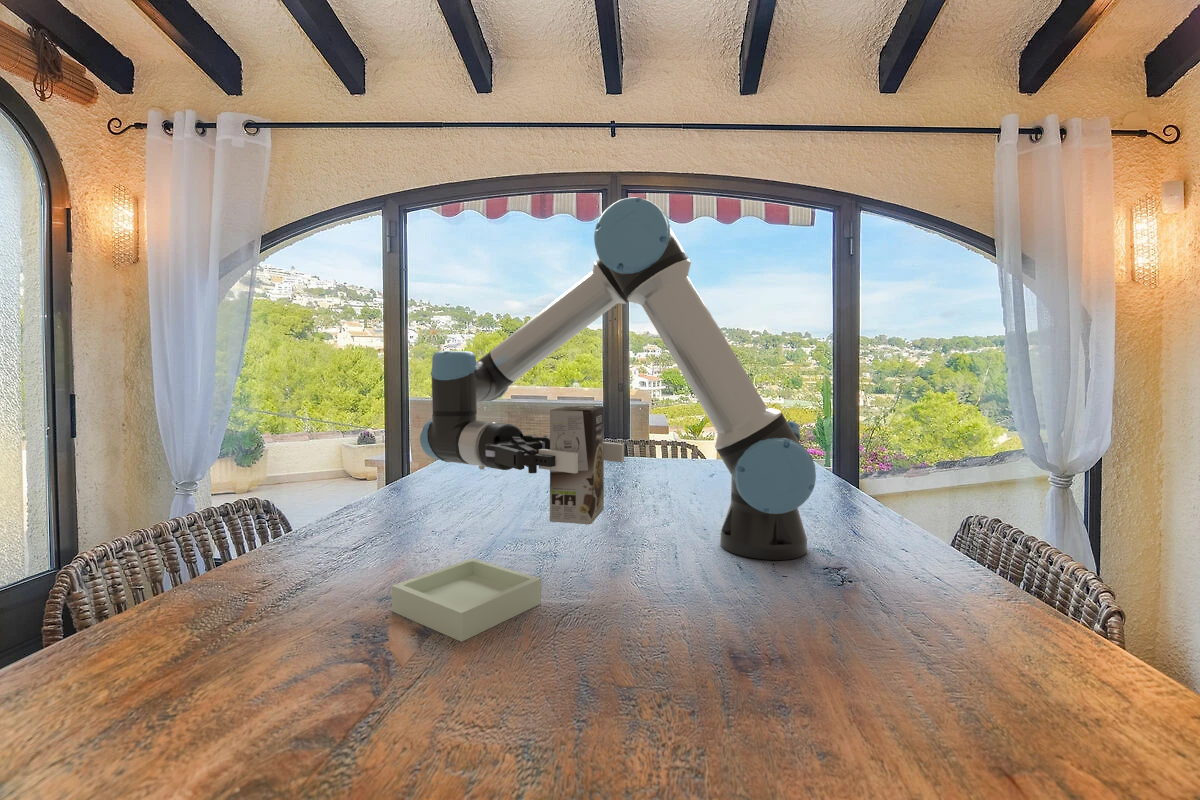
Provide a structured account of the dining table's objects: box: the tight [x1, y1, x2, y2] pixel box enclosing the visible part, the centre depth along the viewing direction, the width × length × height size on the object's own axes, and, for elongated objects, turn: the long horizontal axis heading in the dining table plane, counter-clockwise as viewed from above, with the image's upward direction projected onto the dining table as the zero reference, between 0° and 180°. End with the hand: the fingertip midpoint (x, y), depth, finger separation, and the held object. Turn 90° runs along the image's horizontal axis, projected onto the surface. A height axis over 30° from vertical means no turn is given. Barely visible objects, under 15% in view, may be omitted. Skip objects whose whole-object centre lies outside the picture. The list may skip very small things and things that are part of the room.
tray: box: [391, 557, 543, 643], centre depth 78 cm, size 14×14×4 cm
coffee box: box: [549, 405, 605, 526], centre depth 85 cm, size 9×6×16 cm
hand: (600, 457), depth 83 cm, fingers closed on coffee box, 10 cm apart
